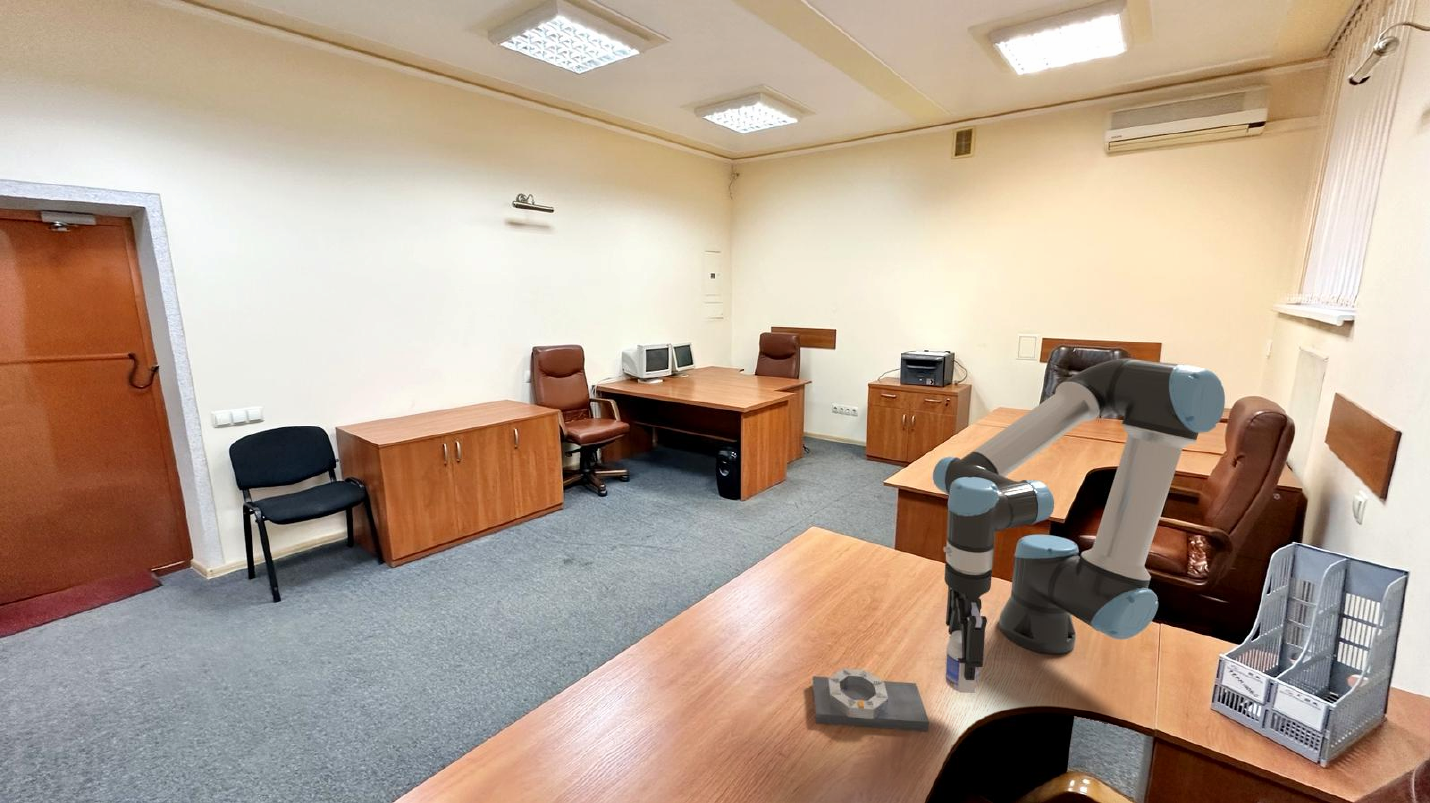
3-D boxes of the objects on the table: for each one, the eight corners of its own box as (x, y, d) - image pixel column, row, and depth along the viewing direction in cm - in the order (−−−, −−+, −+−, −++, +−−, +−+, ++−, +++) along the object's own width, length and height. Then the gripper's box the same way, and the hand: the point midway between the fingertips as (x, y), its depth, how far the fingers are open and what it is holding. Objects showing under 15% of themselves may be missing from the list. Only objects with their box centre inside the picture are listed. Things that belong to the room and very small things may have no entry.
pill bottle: (979, 695, 100) (983, 647, 98) (947, 692, 101) (950, 645, 99) (972, 674, 105) (975, 629, 103) (942, 671, 106) (944, 626, 104)
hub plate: (914, 690, 110) (916, 671, 109) (928, 732, 100) (930, 711, 99) (812, 683, 112) (813, 664, 111) (816, 723, 102) (816, 703, 101)
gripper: (932, 540, 107) (926, 646, 112) (963, 593, 90) (955, 716, 94) (972, 541, 107) (965, 647, 112) (1012, 594, 89) (1001, 718, 94)
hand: (960, 678), depth 103 cm, fingers closed on pill bottle, 5 cm apart
